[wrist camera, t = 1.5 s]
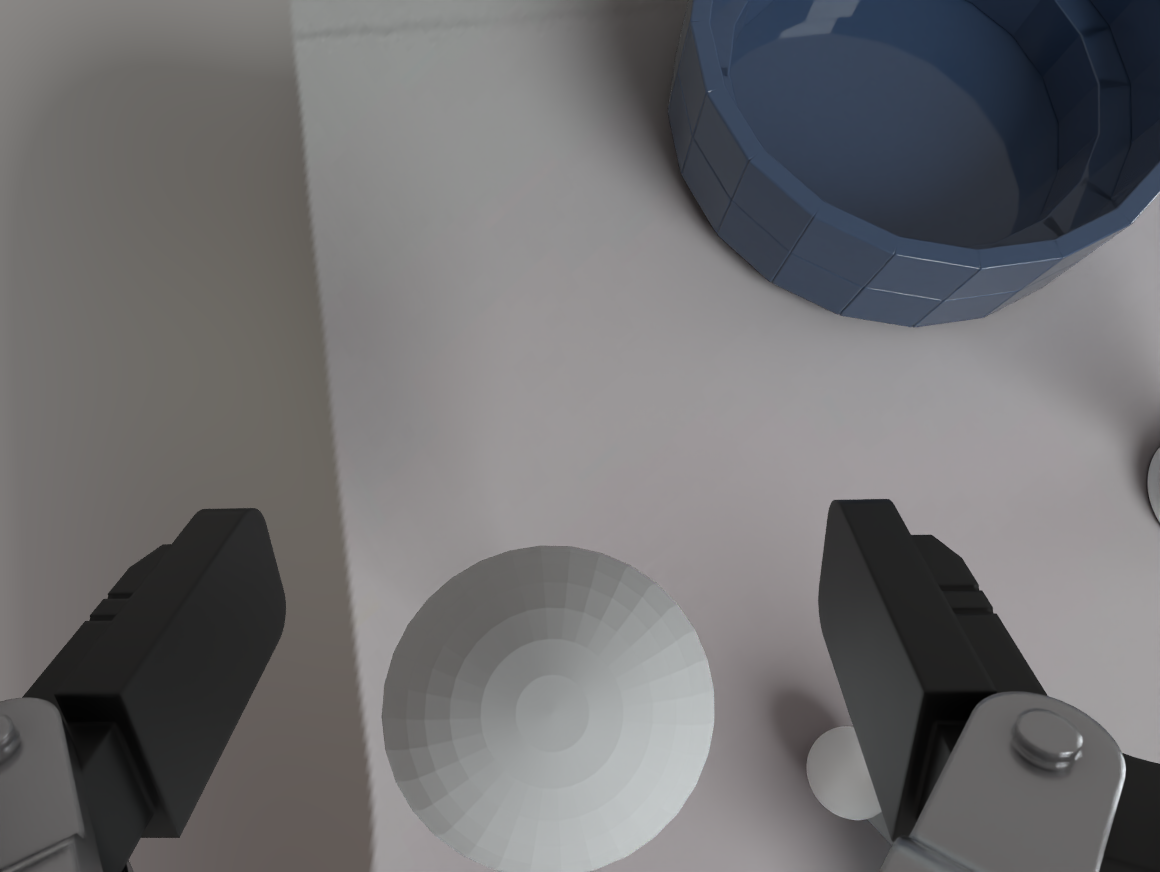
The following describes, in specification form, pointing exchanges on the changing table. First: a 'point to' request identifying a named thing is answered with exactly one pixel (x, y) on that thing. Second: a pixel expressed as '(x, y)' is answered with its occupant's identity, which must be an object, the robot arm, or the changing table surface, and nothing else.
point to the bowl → (918, 143)
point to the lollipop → (548, 710)
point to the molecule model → (844, 778)
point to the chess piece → (1155, 483)
